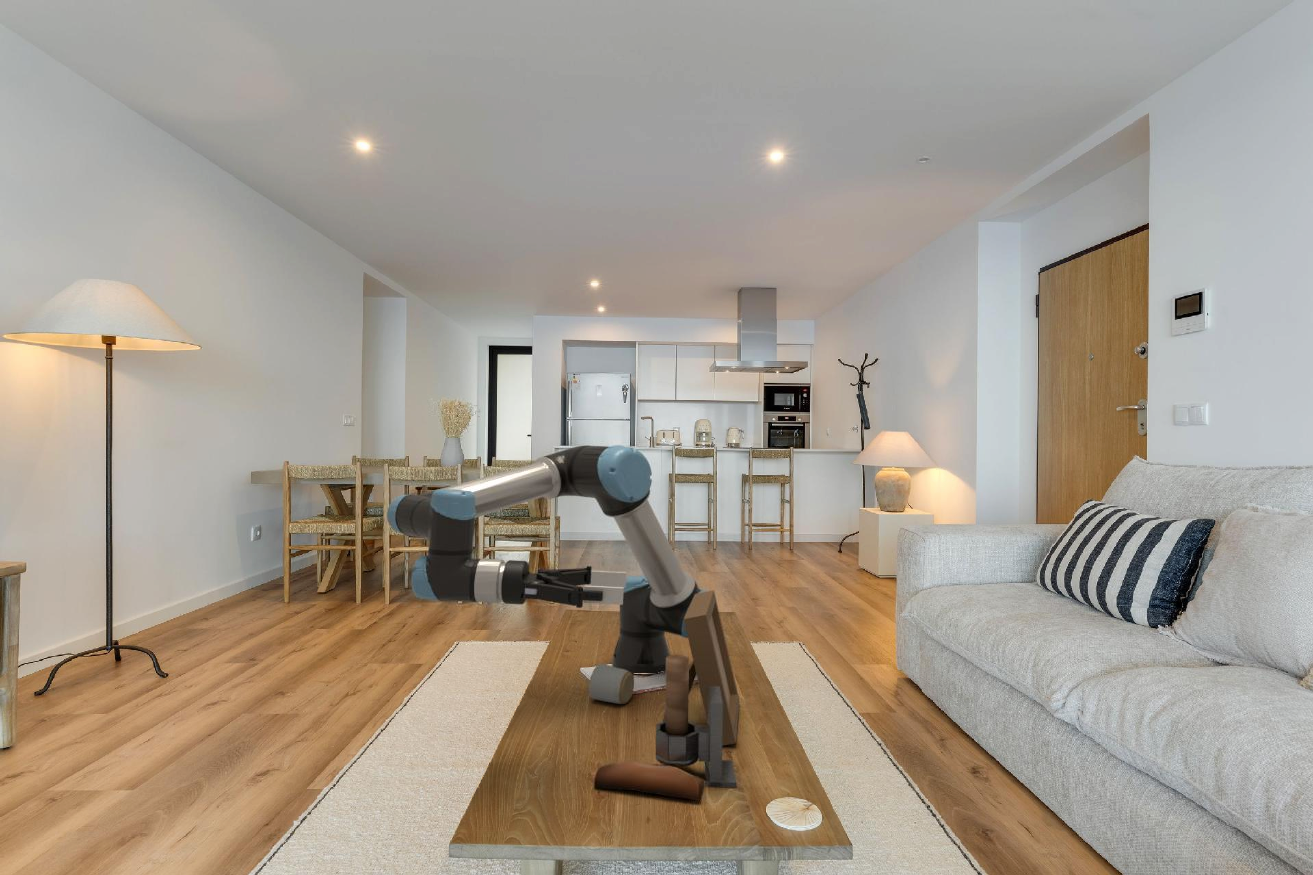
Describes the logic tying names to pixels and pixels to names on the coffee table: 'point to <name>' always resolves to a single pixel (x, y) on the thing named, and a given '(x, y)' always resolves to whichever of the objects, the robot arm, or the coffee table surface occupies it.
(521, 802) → the coffee table surface
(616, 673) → the ceramic mug
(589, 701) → the coffee table surface
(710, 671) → the photo frame
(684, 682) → the brown wooden dowel
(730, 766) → the bracket
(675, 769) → the sunglasses case
